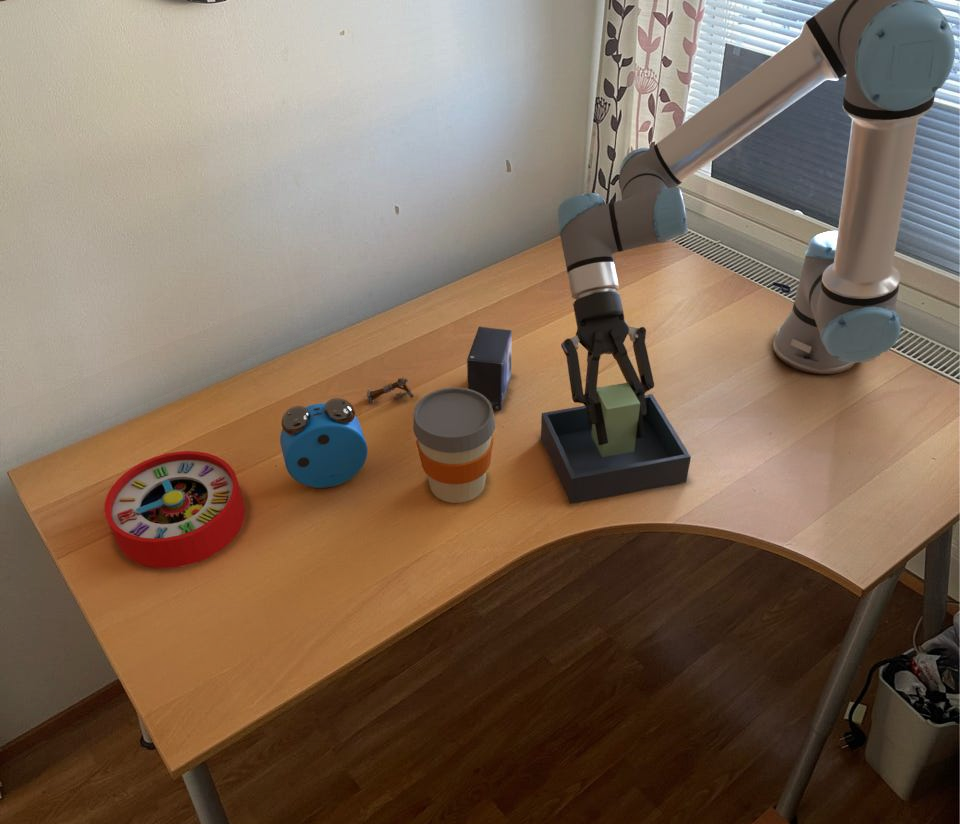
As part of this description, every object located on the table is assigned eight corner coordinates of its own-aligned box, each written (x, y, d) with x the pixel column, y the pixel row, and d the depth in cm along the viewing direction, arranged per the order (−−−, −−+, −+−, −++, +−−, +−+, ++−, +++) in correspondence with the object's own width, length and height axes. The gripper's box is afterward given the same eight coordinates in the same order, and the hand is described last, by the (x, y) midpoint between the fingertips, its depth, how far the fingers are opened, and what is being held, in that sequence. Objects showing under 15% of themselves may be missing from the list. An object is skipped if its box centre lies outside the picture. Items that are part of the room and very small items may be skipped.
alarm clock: (365, 456, 152) (353, 385, 142) (372, 480, 148) (361, 408, 138) (287, 473, 150) (270, 402, 139) (293, 498, 146) (276, 427, 135)
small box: (503, 412, 160) (502, 363, 152) (467, 408, 161) (464, 360, 154) (513, 376, 167) (513, 328, 160) (478, 373, 168) (477, 325, 161)
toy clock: (255, 509, 136) (122, 561, 129) (263, 536, 140) (134, 587, 133) (214, 435, 148) (91, 478, 142) (222, 462, 152) (103, 505, 146)
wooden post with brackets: (417, 397, 162) (405, 379, 159) (378, 413, 164) (366, 395, 161) (417, 391, 163) (405, 372, 160) (379, 406, 166) (366, 389, 163)
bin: (649, 419, 157) (652, 393, 154) (686, 482, 146) (691, 456, 142) (540, 438, 155) (541, 412, 151) (570, 504, 143) (571, 478, 139)
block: (622, 430, 150) (628, 382, 143) (634, 451, 146) (640, 403, 139) (591, 436, 149) (595, 387, 142) (601, 457, 146) (606, 409, 138)
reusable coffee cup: (480, 518, 141) (477, 446, 131) (406, 500, 145) (398, 428, 134) (506, 467, 150) (505, 395, 139) (436, 451, 153) (430, 379, 142)
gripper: (643, 293, 148) (668, 433, 148) (534, 310, 145) (560, 452, 145) (659, 281, 140) (686, 428, 140) (544, 298, 137) (571, 448, 137)
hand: (622, 440), depth 143 cm, fingers closed on block, 5 cm apart
